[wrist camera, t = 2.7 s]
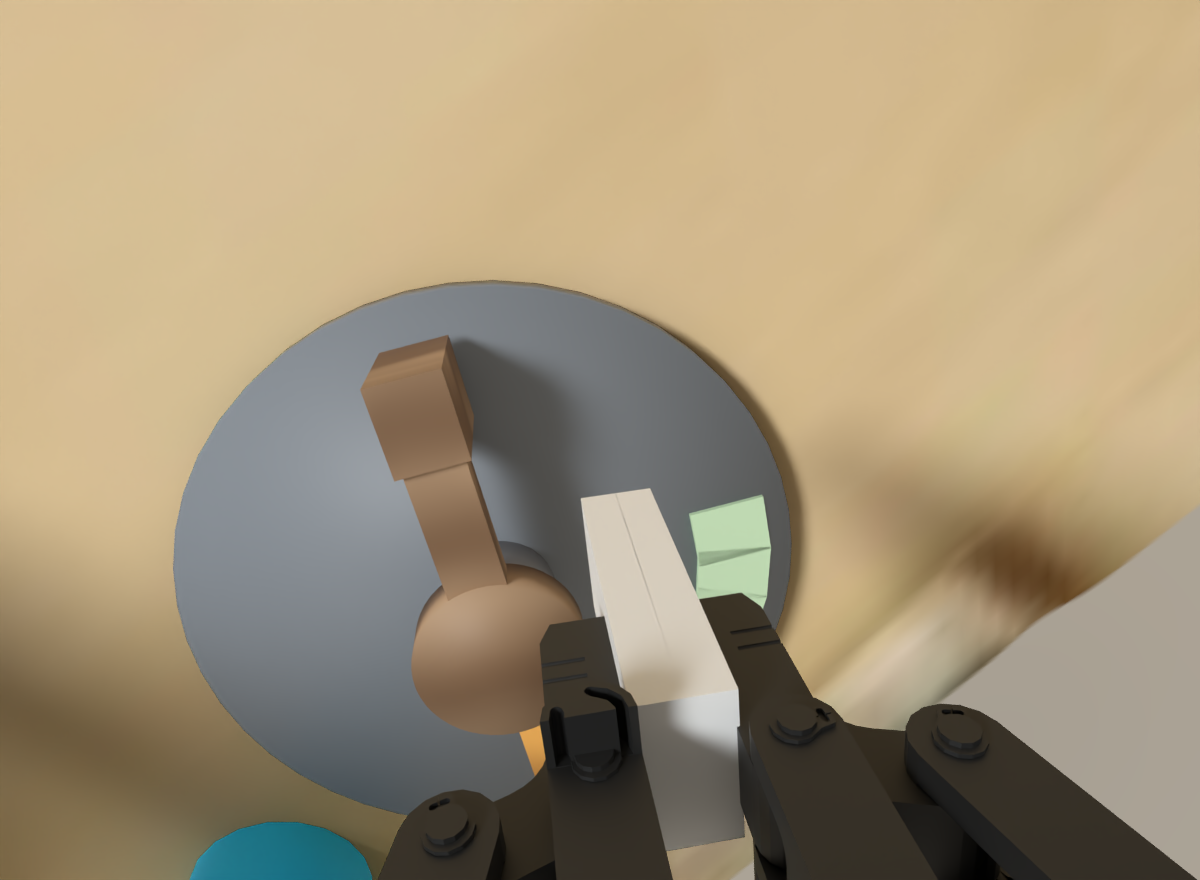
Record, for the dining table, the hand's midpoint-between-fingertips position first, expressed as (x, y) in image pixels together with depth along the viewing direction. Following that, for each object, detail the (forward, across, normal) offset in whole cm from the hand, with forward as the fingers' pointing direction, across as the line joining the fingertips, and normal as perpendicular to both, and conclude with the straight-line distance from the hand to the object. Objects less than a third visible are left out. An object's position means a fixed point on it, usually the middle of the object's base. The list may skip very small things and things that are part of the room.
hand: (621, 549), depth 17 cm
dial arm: (+12, -4, -8) cm, 15 cm away
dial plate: (+13, -4, -8) cm, 16 cm away
